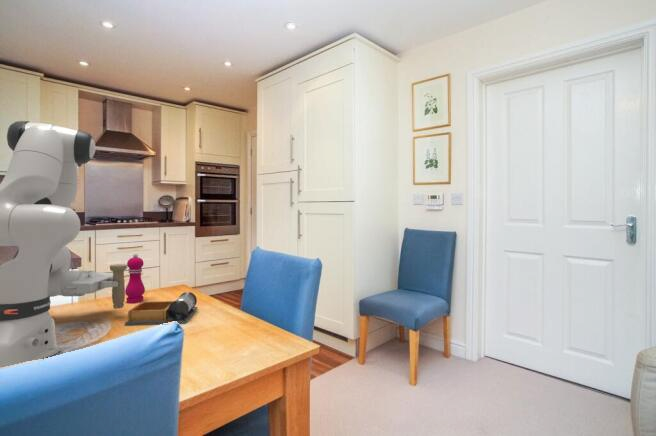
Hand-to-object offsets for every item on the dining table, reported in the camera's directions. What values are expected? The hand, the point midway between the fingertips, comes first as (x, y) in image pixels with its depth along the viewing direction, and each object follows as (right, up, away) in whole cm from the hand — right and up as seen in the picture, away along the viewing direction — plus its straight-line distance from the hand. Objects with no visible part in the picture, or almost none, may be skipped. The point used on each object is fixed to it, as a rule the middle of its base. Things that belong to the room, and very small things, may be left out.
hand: (121, 282), depth 123 cm
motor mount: (+15, -13, +2) cm, 19 cm away
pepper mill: (-8, -12, +23) cm, 27 cm away
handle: (-1, -9, 0) cm, 9 cm away
